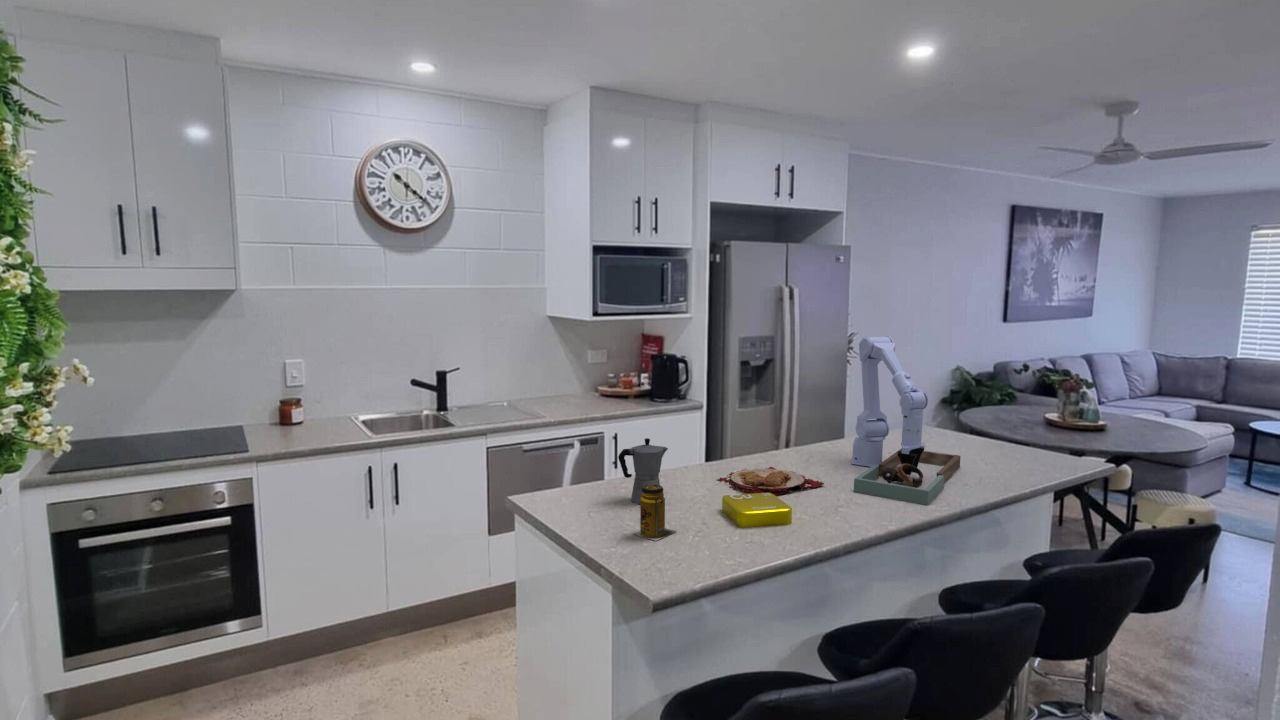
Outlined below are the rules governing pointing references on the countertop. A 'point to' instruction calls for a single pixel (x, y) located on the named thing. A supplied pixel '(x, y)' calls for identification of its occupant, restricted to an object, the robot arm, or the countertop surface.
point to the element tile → (756, 510)
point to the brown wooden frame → (928, 462)
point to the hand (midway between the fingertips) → (909, 471)
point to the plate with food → (768, 481)
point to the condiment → (653, 513)
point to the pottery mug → (902, 475)
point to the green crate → (896, 488)
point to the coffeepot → (643, 466)
